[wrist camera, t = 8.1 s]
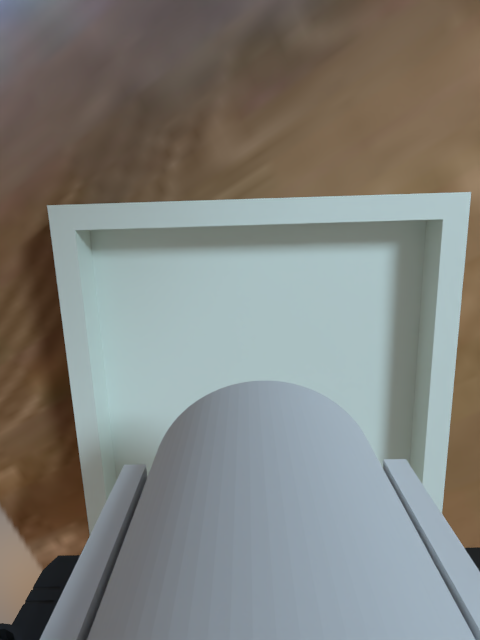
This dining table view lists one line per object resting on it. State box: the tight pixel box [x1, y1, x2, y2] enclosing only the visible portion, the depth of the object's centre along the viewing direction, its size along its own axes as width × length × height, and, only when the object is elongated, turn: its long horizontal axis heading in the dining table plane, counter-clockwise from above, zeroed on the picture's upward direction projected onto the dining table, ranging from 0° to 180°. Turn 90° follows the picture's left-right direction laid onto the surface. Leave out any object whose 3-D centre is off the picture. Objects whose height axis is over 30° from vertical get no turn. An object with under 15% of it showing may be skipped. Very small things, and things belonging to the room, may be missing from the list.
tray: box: [47, 192, 471, 534], centre depth 25 cm, size 20×20×3 cm
